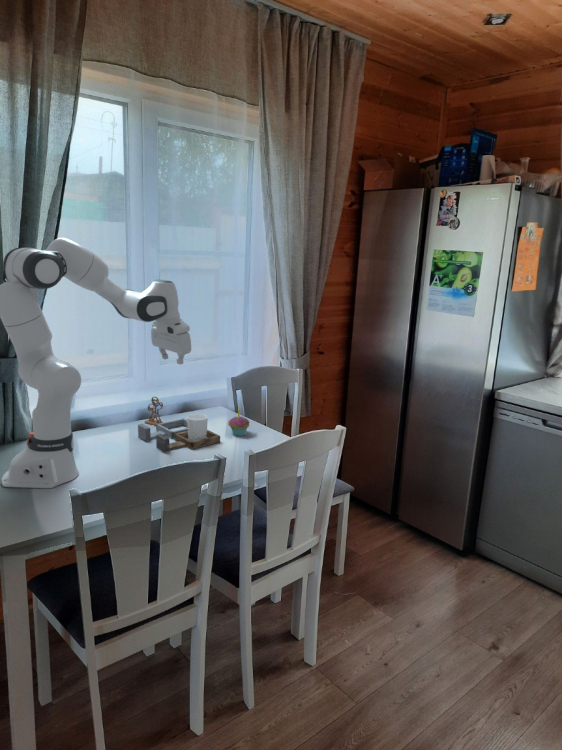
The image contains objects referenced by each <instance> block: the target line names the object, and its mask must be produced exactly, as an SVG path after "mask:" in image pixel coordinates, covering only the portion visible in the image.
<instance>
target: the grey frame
mask: <svg viewBox="0 0 562 750" xmlns="http://www.w3.org/2000/svg"><path fill="white" fill-rule="evenodd" d="M180 426H184V427H185V428H182V429H181V428H180V429H176V430H171V429H172V428H176V427H180ZM167 428H168V429H167ZM155 430H156V431H155V432H151V427H149V426H148V425H147V424H145V423H140V424H137V435H138V436H137V437H138V438H140V439H141V440H143V441H145V442H149V441H151V440H153V439H156V435H158V434H162V435H164V436H166V437H168V438H169V439H174V434H176V433H180V432H185V431H188V429H187V418H184V417H183V418H178V419H175V420H169V421H165V422H164V423H159V424H156V426H155Z"/></svg>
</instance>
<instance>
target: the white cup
mask: <svg viewBox="0 0 562 750" xmlns="http://www.w3.org/2000/svg"><path fill="white" fill-rule="evenodd" d="M208 419H209V418H208V415H206V414H203V413H193V414H192V413H191V414H188V415H187V416H186V420H187V427H186V428H187V429H188V438H187V439H188V440H190V441H192V442H193V441H197V440H201V439H205V438H207V437H206V435H207V430H208V423H209V422H208V421H209V420H208Z"/></svg>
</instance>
